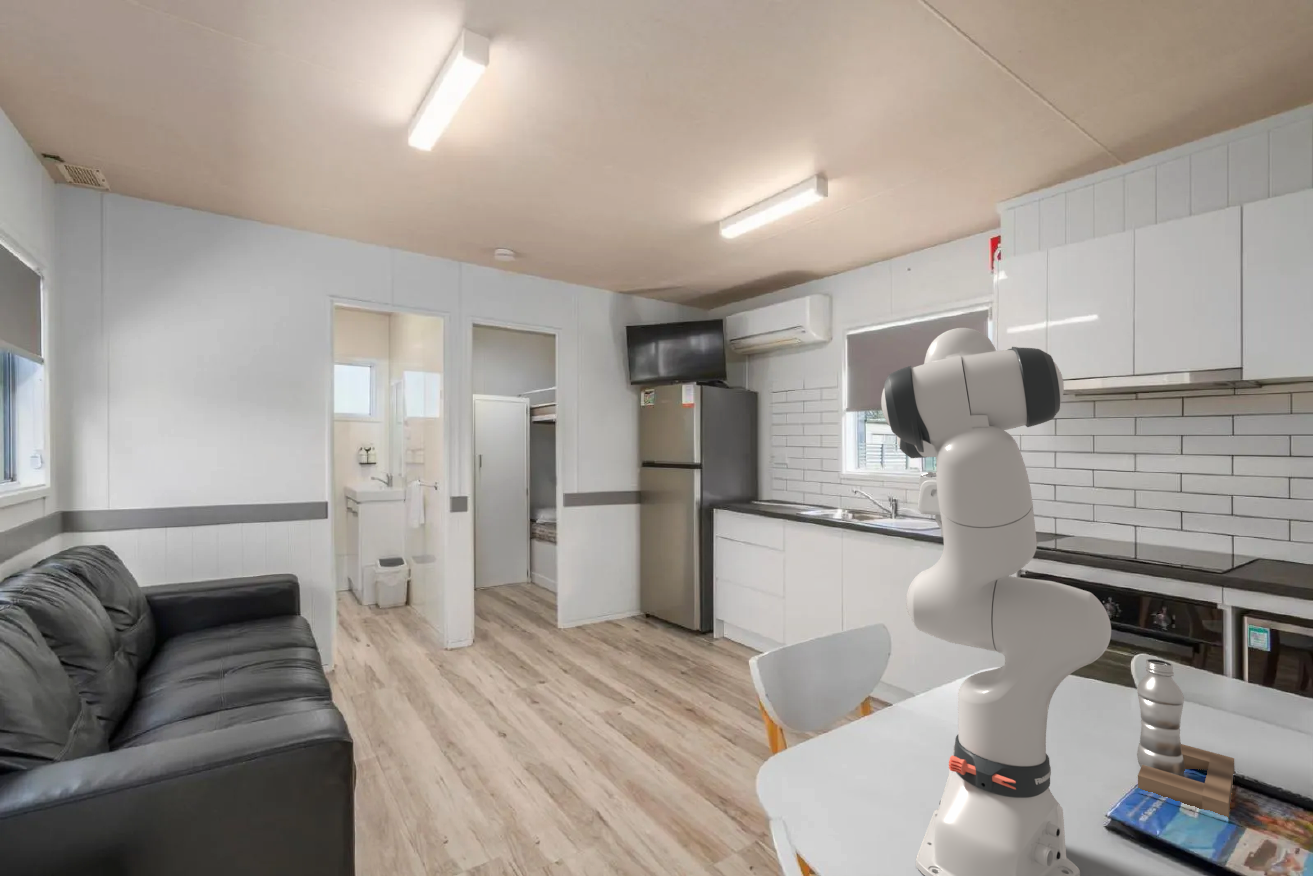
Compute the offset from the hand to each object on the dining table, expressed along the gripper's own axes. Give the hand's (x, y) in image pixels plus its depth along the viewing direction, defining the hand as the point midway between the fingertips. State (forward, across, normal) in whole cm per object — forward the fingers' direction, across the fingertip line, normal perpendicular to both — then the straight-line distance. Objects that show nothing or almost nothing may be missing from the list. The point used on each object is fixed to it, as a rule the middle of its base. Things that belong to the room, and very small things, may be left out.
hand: (969, 539), depth 123 cm
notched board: (+39, +33, +6) cm, 52 cm away
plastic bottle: (+39, +29, +6) cm, 49 cm away
